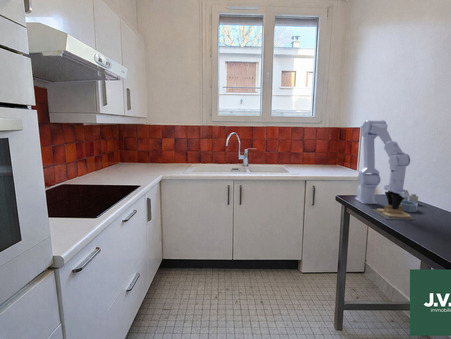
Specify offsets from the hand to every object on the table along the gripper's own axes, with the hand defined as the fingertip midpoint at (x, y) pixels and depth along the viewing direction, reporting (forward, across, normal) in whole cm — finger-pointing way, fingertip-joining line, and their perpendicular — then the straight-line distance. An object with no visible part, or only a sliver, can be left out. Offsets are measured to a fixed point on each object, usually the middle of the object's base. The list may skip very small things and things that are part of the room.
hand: (393, 207), depth 124 cm
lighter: (+3, +18, -20) cm, 27 cm away
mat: (+3, 0, 0) cm, 3 cm away
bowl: (+3, +8, -12) cm, 15 cm away
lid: (+3, 0, 0) cm, 3 cm away
